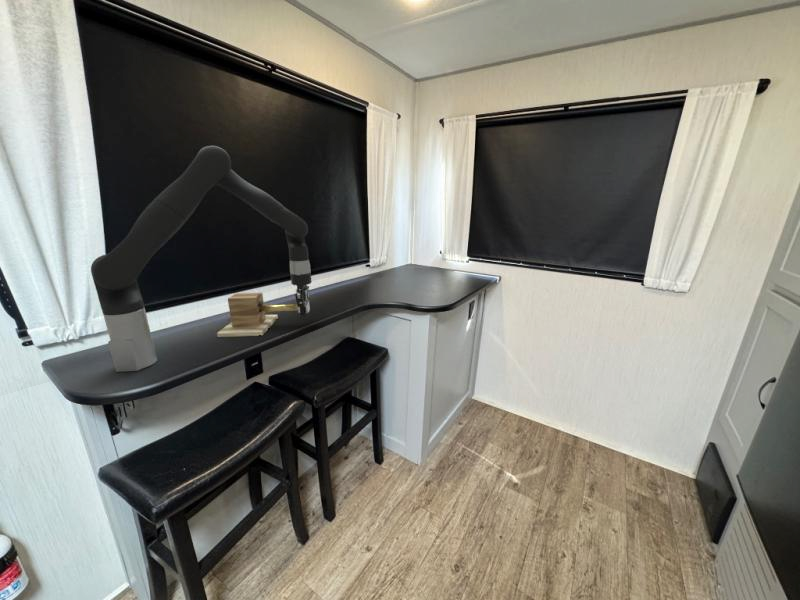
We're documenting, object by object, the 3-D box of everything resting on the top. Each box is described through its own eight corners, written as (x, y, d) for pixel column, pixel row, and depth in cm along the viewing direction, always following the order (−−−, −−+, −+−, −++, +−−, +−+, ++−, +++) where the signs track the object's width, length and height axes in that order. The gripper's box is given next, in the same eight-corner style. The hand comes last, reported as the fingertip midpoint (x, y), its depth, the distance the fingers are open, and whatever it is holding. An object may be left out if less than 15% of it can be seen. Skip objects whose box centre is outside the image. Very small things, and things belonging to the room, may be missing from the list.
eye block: (262, 335, 118) (257, 301, 114) (217, 337, 117) (211, 303, 113) (277, 317, 137) (274, 288, 133) (239, 319, 136) (235, 289, 132)
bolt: (308, 312, 125) (307, 303, 124) (248, 314, 123) (247, 305, 122) (309, 309, 129) (309, 301, 128) (252, 311, 127) (251, 303, 126)
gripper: (295, 268, 129) (299, 309, 134) (285, 275, 115) (290, 320, 120) (313, 268, 129) (317, 308, 134) (306, 275, 116) (310, 319, 120)
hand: (304, 313), depth 127 cm, fingers closed on bolt, 3 cm apart
